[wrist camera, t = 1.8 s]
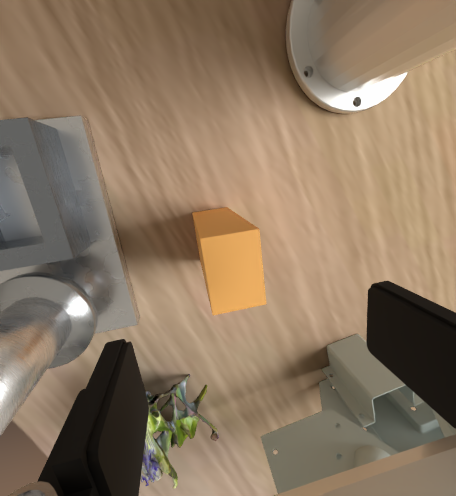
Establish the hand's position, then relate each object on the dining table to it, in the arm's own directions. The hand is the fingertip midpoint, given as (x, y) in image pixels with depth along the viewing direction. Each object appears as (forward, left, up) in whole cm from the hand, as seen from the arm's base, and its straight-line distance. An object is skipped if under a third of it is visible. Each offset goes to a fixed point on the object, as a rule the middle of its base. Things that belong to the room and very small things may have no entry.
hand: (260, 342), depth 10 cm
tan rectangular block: (0, 0, -17) cm, 17 cm away
